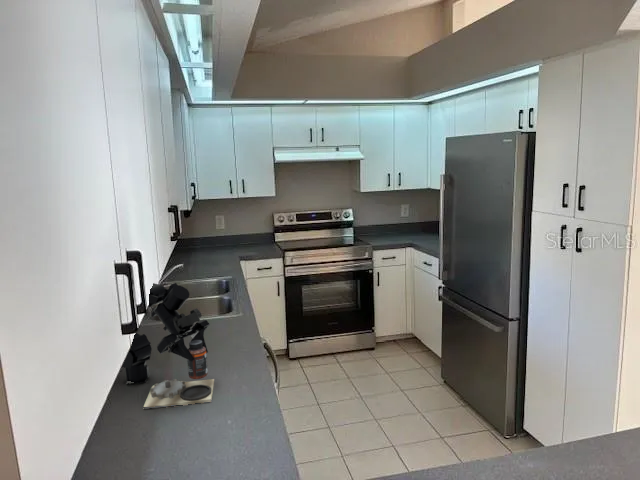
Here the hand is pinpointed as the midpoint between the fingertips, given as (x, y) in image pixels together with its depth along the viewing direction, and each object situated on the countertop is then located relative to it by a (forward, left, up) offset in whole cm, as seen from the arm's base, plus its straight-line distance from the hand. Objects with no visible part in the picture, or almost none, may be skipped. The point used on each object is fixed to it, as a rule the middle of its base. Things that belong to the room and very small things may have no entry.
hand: (200, 356), depth 150 cm
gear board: (-7, +2, -13) cm, 15 cm away
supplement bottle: (-1, +1, -7) cm, 7 cm away
